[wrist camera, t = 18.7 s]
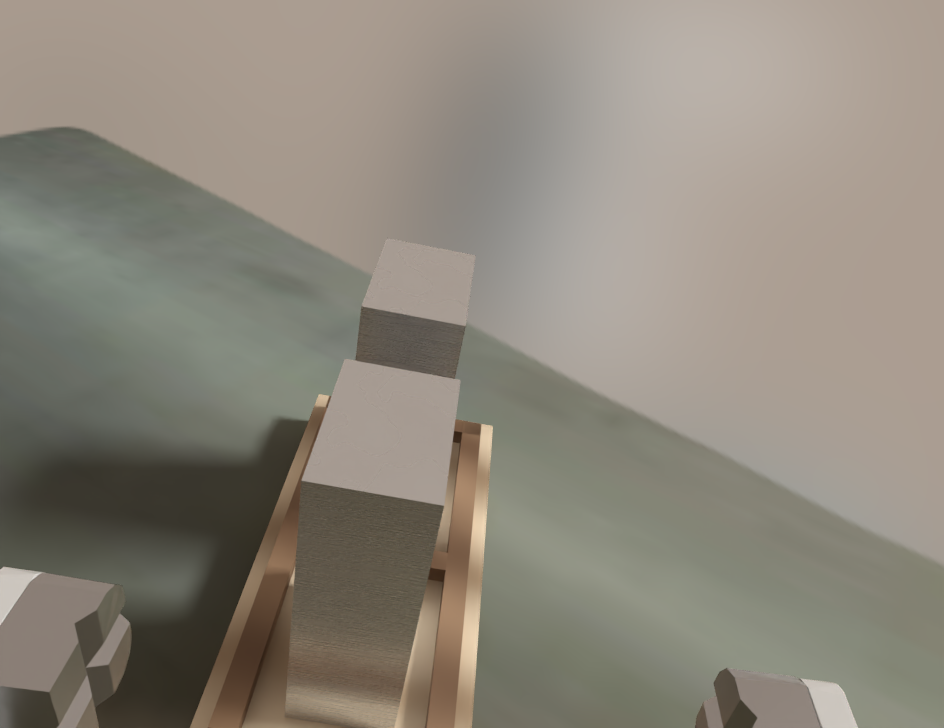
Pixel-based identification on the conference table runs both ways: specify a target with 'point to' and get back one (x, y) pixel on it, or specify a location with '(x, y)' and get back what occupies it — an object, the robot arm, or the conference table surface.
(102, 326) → the conference table surface
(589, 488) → the conference table surface
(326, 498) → the aluminium billet
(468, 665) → the wooden compartment tray
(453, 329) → the billet
